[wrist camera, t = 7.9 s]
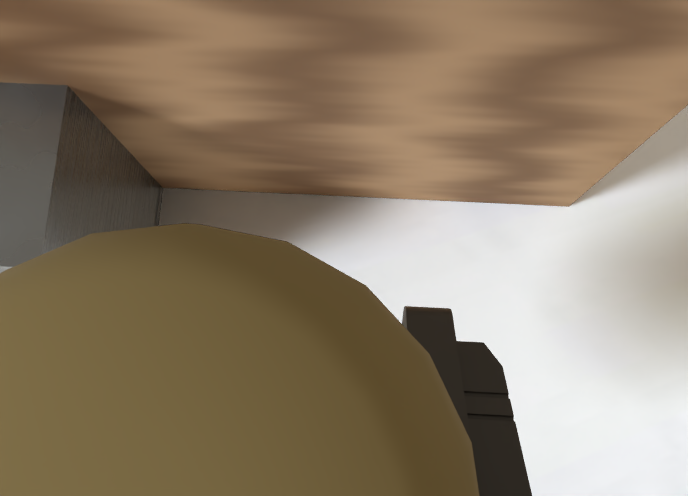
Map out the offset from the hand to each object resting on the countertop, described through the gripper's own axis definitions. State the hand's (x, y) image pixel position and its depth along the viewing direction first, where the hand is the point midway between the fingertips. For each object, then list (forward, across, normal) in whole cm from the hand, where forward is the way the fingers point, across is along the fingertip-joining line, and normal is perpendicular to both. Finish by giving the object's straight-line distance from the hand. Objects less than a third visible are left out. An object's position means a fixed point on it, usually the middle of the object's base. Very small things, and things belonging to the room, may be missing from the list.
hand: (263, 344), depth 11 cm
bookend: (+16, +10, +8) cm, 21 cm away
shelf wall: (+19, 0, +5) cm, 20 cm away
